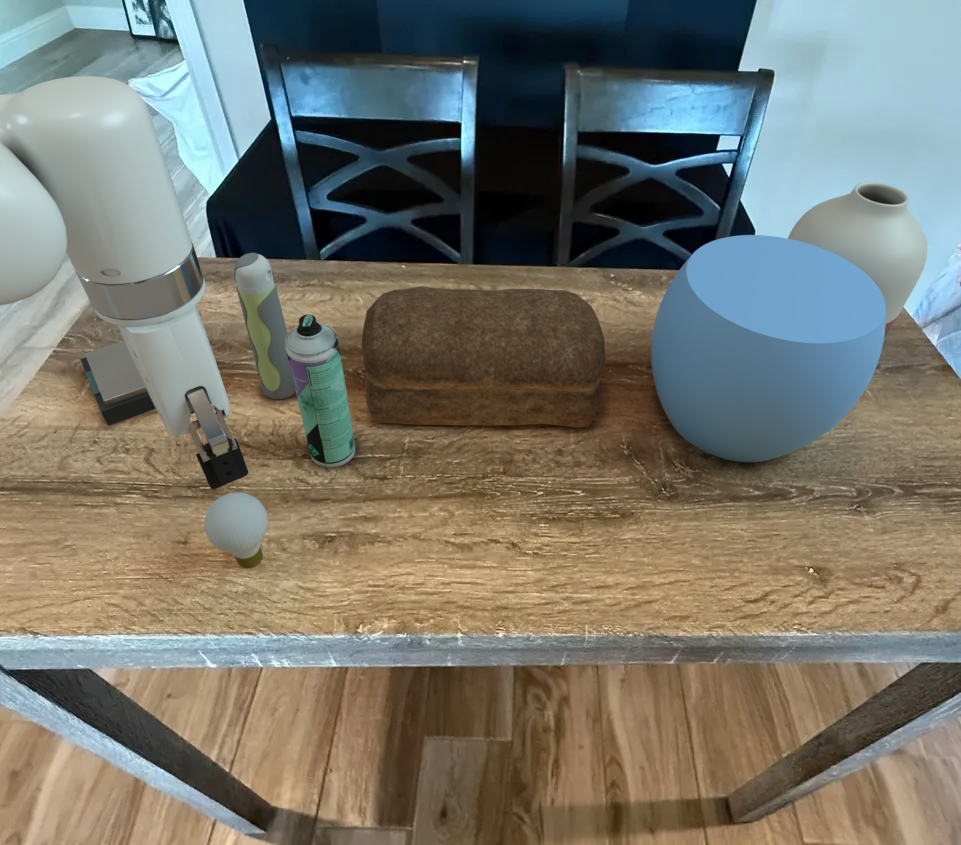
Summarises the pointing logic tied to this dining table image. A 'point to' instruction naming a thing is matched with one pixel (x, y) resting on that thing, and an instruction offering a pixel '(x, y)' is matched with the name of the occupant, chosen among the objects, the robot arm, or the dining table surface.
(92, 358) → the scale
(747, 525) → the dining table surface
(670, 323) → the blue rounded pouf
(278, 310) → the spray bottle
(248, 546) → the light bulb
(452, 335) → the bread
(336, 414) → the spray can
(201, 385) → the robot arm
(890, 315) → the vase
